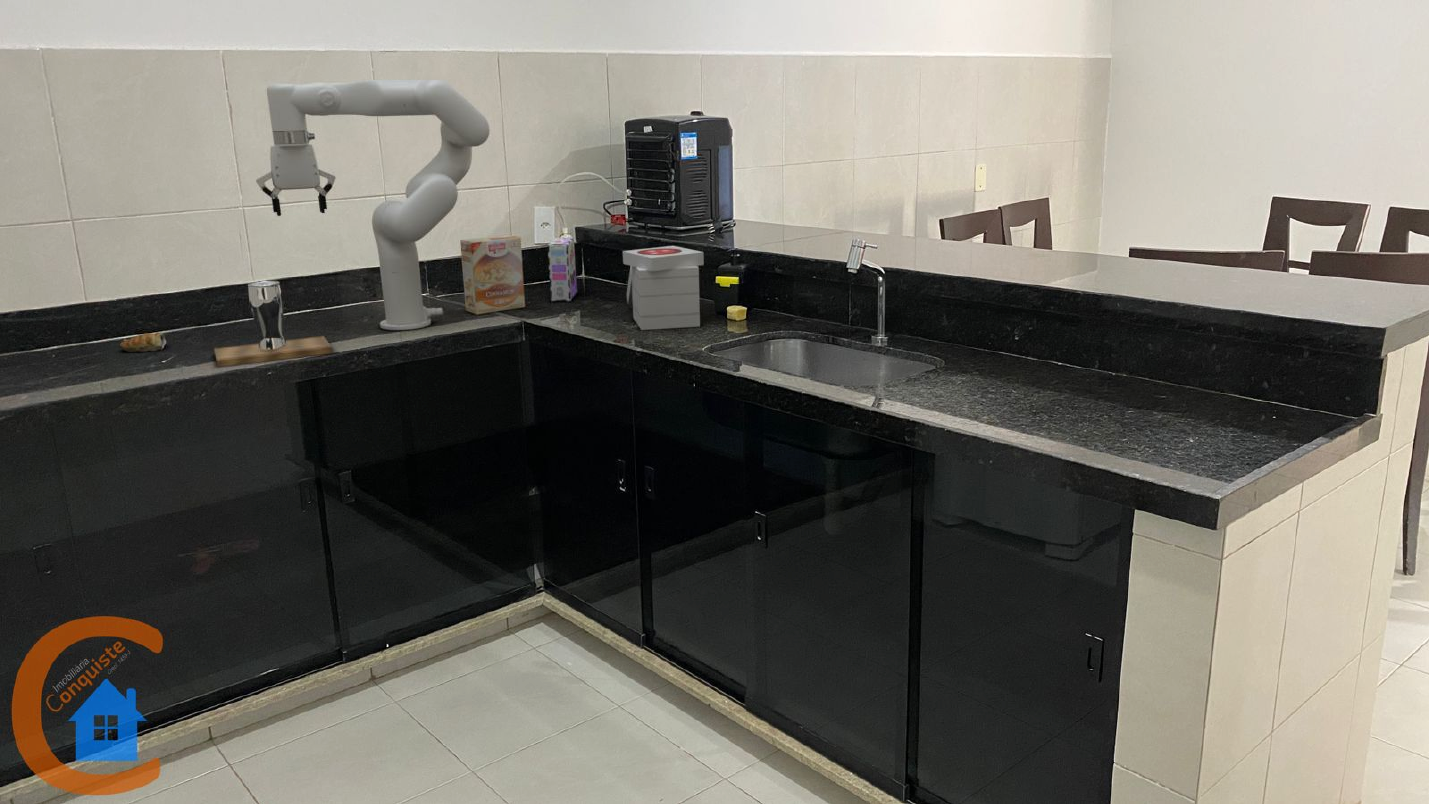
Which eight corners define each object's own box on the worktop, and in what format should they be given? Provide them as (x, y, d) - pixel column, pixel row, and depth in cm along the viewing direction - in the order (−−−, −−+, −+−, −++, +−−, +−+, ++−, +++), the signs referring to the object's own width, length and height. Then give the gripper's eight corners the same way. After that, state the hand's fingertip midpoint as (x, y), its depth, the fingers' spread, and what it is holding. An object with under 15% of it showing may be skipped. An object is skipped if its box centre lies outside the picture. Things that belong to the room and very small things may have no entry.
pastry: (118, 354, 238) (115, 338, 237) (124, 348, 244) (122, 332, 243) (163, 350, 241) (160, 334, 240) (168, 344, 247) (165, 329, 246)
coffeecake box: (476, 315, 274) (470, 242, 268) (465, 311, 279) (458, 239, 273) (526, 307, 283) (521, 236, 277) (514, 303, 288) (508, 234, 282)
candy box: (571, 301, 289) (567, 243, 284) (550, 302, 289) (546, 243, 284) (577, 292, 302) (574, 236, 297) (558, 293, 302) (554, 237, 297)
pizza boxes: (687, 304, 282) (685, 239, 277) (709, 327, 254) (707, 255, 249) (618, 308, 278) (615, 242, 273) (632, 332, 250) (629, 259, 245)
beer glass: (277, 352, 231) (268, 286, 227) (250, 351, 232) (240, 285, 228) (295, 344, 237) (286, 280, 233) (268, 343, 239) (259, 280, 234)
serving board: (324, 341, 246) (323, 335, 246) (332, 353, 235) (331, 346, 235) (215, 354, 236) (214, 348, 235) (218, 367, 225) (216, 360, 224)
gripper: (328, 137, 243) (337, 210, 248) (249, 140, 235) (260, 215, 240) (332, 138, 236) (341, 213, 241) (251, 141, 229) (262, 218, 234)
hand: (301, 214), depth 241 cm, fingers open, 9 cm apart
